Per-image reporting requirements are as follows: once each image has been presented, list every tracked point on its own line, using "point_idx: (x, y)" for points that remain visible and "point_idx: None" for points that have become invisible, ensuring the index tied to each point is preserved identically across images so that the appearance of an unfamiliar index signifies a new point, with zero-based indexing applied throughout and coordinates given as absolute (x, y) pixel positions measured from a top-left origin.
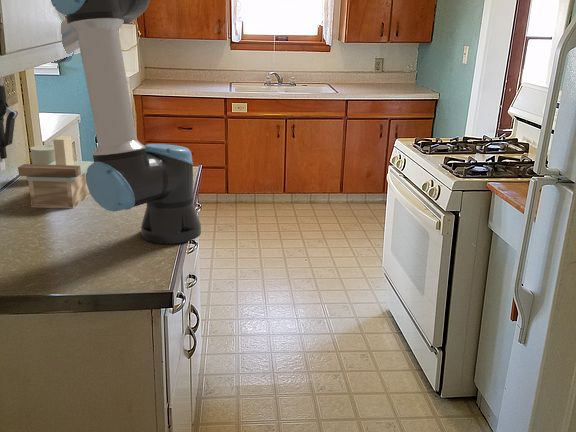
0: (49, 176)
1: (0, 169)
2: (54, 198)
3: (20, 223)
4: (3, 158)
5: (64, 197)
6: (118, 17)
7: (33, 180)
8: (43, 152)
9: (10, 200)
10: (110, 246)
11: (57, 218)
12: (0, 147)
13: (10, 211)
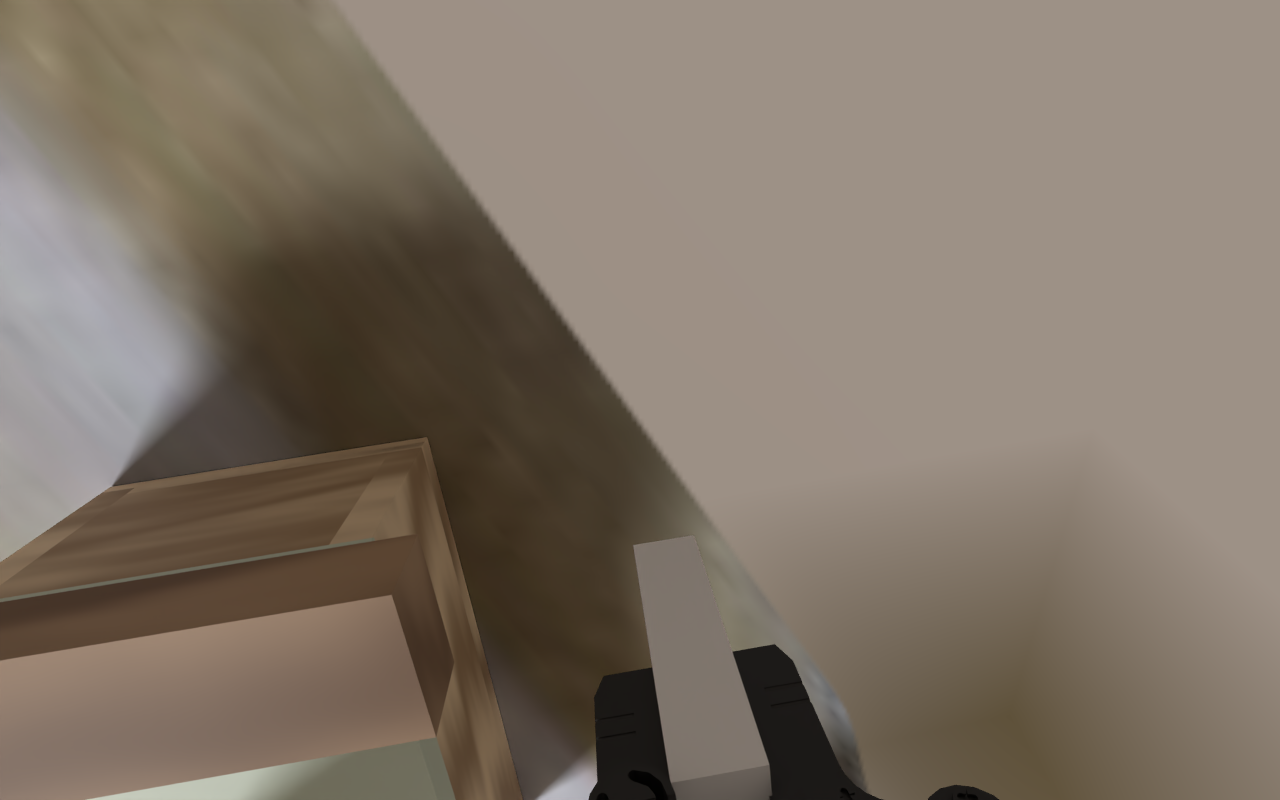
0: (60, 593)
1: (639, 555)
2: (209, 500)
3: (219, 48)
4: (611, 680)
5: (115, 520)
6: None
7: (302, 550)
8: None
9: (674, 533)
10: None
11: (30, 240)
12: (592, 790)
13: (511, 315)
